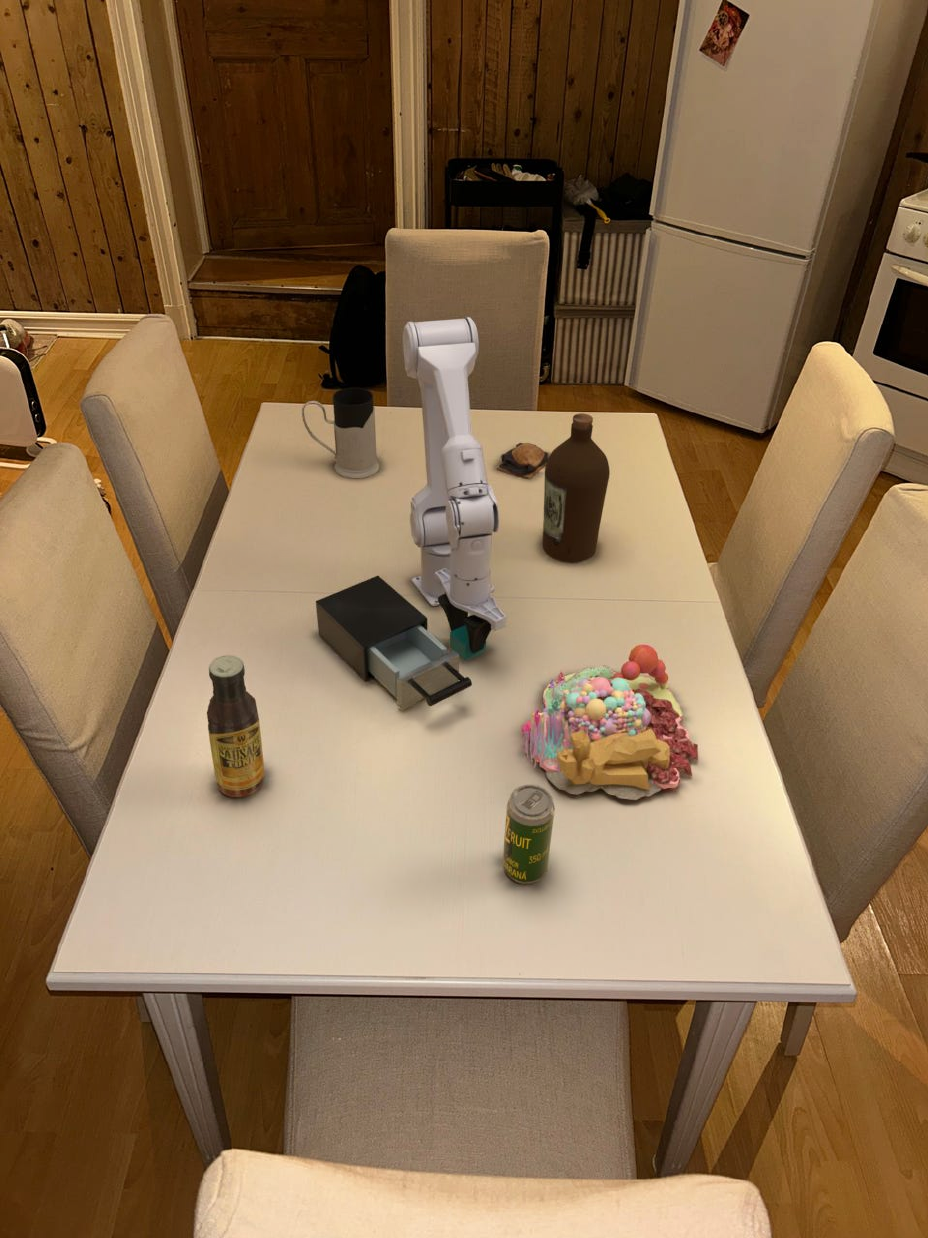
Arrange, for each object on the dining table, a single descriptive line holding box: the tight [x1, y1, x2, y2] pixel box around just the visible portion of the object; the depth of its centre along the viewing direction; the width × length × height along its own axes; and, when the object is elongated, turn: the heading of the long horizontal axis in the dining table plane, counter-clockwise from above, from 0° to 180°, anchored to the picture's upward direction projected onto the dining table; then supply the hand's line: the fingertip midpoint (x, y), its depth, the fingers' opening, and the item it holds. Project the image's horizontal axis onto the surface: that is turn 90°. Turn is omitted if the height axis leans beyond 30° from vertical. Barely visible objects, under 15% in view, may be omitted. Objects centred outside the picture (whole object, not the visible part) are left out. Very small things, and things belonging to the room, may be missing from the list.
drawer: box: [367, 625, 473, 710], centre depth 137 cm, size 17×10×5 cm, turn 38°
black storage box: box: [315, 575, 429, 683], centre depth 144 cm, size 13×11×7 cm
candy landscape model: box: [521, 644, 699, 801], centre depth 129 cm, size 25×24×9 cm
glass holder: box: [301, 387, 380, 479], centre depth 183 cm, size 9×14×15 cm, turn 89°
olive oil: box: [542, 412, 611, 563], centre depth 160 cm, size 11×11×25 cm
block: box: [449, 625, 487, 662], centre depth 145 cm, size 4×4×3 cm
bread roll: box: [496, 442, 552, 480], centre depth 189 cm, size 11×8×4 cm
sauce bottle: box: [206, 654, 265, 798], centre depth 118 cm, size 7×6×20 cm
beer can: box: [502, 784, 556, 885], centre depth 111 cm, size 5×5×12 cm
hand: (468, 642), depth 145 cm, fingers closed on block, 4 cm apart
